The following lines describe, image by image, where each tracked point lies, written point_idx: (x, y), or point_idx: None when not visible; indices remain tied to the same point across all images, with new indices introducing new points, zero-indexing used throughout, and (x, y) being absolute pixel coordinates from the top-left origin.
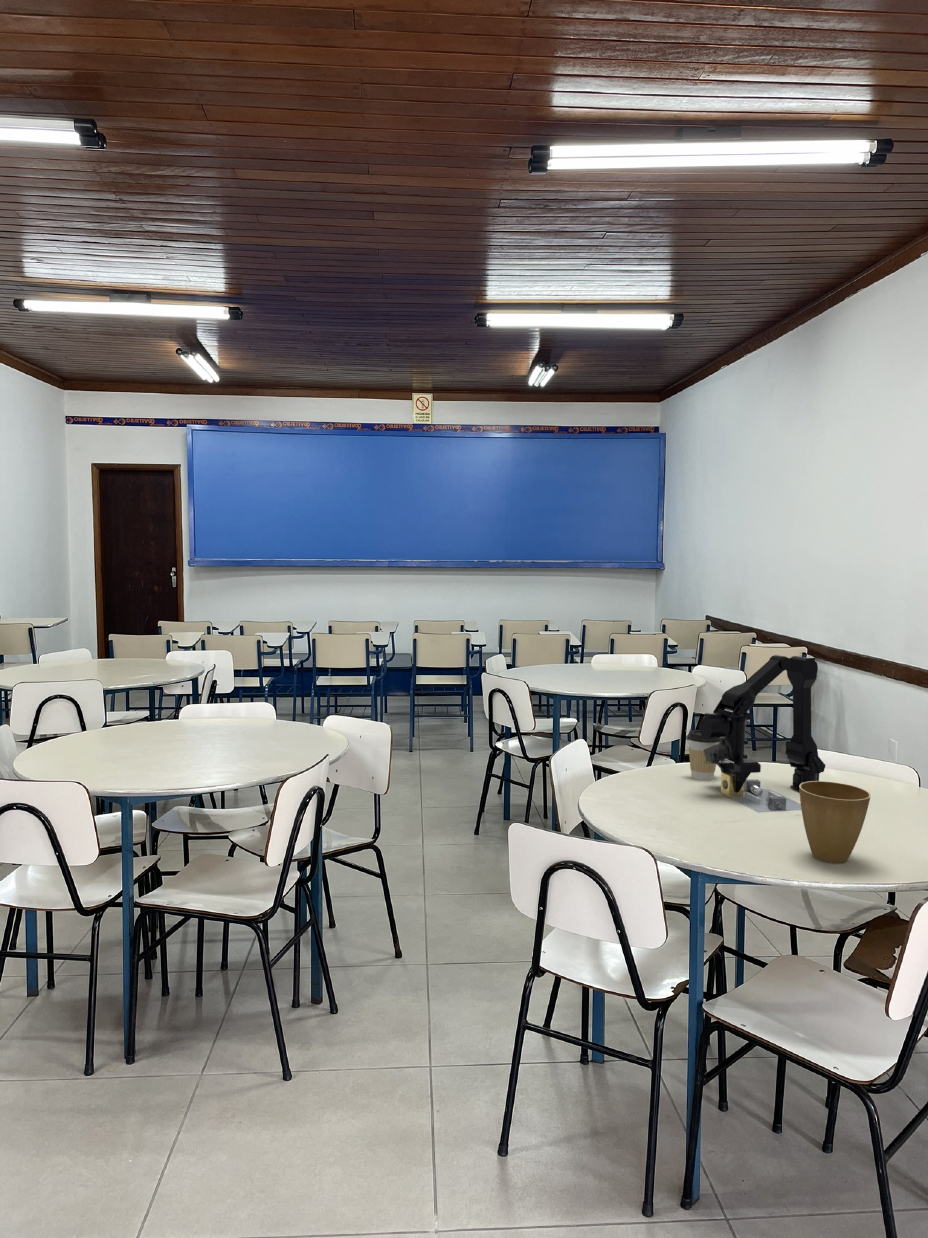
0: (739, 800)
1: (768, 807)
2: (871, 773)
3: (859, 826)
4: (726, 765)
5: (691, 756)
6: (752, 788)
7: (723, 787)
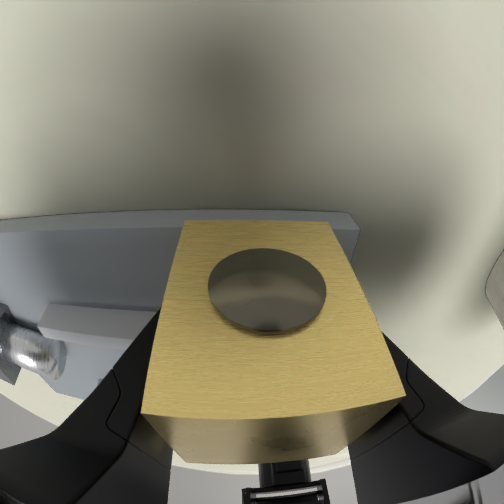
0: (95, 251)
1: (3, 308)
2: (321, 466)
3: None
4: (406, 481)
5: None
6: None
7: (287, 255)
